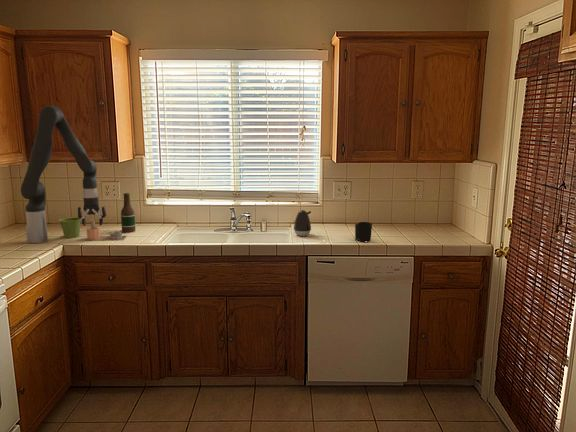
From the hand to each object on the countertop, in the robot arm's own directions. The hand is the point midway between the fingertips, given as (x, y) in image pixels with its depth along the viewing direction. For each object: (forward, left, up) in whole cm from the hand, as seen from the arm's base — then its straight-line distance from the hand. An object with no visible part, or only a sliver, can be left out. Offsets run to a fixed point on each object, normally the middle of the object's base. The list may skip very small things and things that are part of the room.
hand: (92, 225), depth 254 cm
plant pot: (-14, +6, -9) cm, 17 cm away
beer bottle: (+15, +17, -9) cm, 25 cm away
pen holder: (+150, -16, -9) cm, 152 cm away
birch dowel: (0, 0, -7) cm, 7 cm away
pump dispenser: (+118, +1, -9) cm, 119 cm away
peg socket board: (+6, 0, -9) cm, 11 cm away
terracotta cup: (0, 0, -8) cm, 8 cm away
